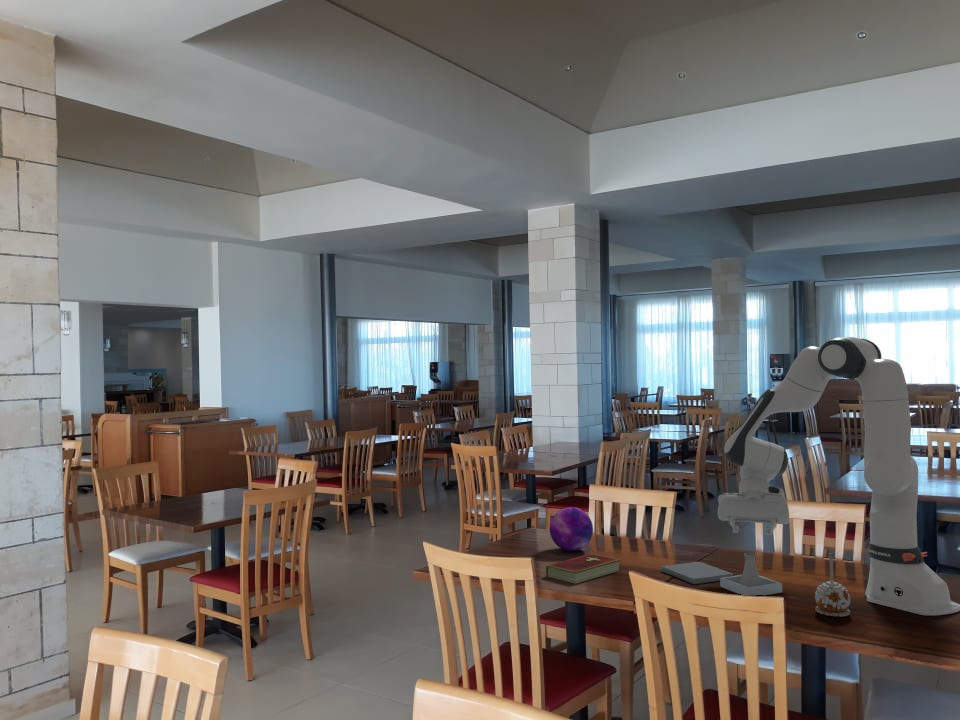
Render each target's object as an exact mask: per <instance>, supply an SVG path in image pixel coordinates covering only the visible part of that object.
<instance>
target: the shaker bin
mask: <svg viewBox="0 0 960 720" xmlns="http://www.w3.org/2000/svg"><path fill="white" fill-rule="evenodd" d="M741 576H742V574H739V575H738V574H737V575H733V576H730V577H723V578H720V581H719V585H720V588H723V589H725V590H728V591H730V592H733V593H735V594H737V595H740V594H741V596H743V595H763V596H767V595H775V594H780V593H783V583H782V582H780V581H779V582H778V581H776V580H774V579H770V578H769V577H765V576H762V575H759V577H760V579H761V582H762V584H763V585H761V586H754V587H747V586H744V585H741V584H739V582H740V579H741Z"/></svg>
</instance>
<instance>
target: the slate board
mask: <svg viewBox="0 0 960 720" xmlns="http://www.w3.org/2000/svg"><path fill="white" fill-rule="evenodd" d="M660 571H661V572H662V573H665V574H668V575H670V576H672V577H675V578H677V579H680V580H683V581H685V582H687V583H689V584H692V585H696V584H697V585H699V584H705V583H712V582H720V578H723V577H730V576H734V573H732V572H729V571H727V570H724V569H720V568H719V567H716V566H713V565H710V564H707V563H705V562H702V561H694V562H693V561H692V562H685V563H678V564H677V563H675V564H668V565H662V566H661V569H660Z"/></svg>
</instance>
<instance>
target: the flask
mask: <svg viewBox="0 0 960 720" xmlns="http://www.w3.org/2000/svg"><path fill="white" fill-rule="evenodd" d="M743 556H744V567H743V571H742V574H741V575H742V576H741V579H740V582H739V584H741V585H744V586H747V587H754V586H761V585H763V584H762V582H761V579H760V577H759V576H760V574H759V572H758V568H757V565H756V564H757V563H756V557H757V553H754V552H753V553H752V552H744V553H743Z"/></svg>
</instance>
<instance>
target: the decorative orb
mask: <svg viewBox="0 0 960 720" xmlns="http://www.w3.org/2000/svg"><path fill="white" fill-rule="evenodd" d="M593 533H594V527H593V522H592V519H591V517H590V516H589V514H587V513H586V512H585V511H584V510H583V509H580V508H578V507H574V506H567V507H563V508H561V509H559V510H558V511H557V512H556V513H555V514H554V515H553V516H552V517H551V520H550V523H549V534H550V538H551V539H552V541H553V543H554V544H555V545H556V546H557V547H558V548H560V549H561V550H563V551H567V552H576V551H577V552H578V551H580V550H582V549H584V548H585V547H586V546H587V545H589V543H590V542H591V540H592V537H593Z"/></svg>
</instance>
